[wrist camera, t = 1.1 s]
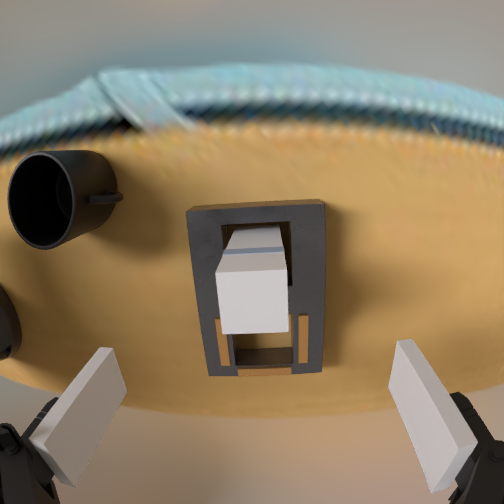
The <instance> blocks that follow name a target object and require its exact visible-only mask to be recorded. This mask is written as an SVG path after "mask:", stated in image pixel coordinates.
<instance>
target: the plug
mask: <svg viewBox="0 0 504 504" xmlns="http://www.w3.org/2000/svg"><path fill="white" fill-rule="evenodd" d="M215 275H216V284H217V293H218V302H219V310H220V318H221V327H222V334H251V333H276V332H289V330H288V287H287V267H286V261H285V251H284V246H283V244H282V239H281V233H280V228H279V225H261V226H243V227H236V228H235V230H234V232H233V234H232V236H231V239H230V241H229V243H228V245H227V248H226V249H225V250H224V252H223V254H222V259H221V261H220V263H219V265H218V268H217V270H216V272H215Z"/></svg>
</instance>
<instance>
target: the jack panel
mask: <svg viewBox="0 0 504 504" xmlns="http://www.w3.org/2000/svg"><path fill="white" fill-rule="evenodd" d="M186 218H187V227H188V236H189V245H190V253H191V261H192V269H193V276H194V284H195V291H196V298H197V305H198V312H199V319H200V325H201V332H202V338H203V344H204V350H205V356H206V362H207V368H208V373H209V376H269V375H290V374H302V373H316V372H322V356H323V335H324V307H325V204H324V203H323V202H322V201H320V200H319V199H307V200H284V201H265V202H247V203H232V204H217V205H204V206H194V207H192V208H191V209H189V210H188V211H186ZM280 221H288V225H289V251H290V274H287V287H288V313H291V340H292V347H284V348H262V349H238V344H237V335H236V334H222V327H221V318H220V310H219V302H218V293H217V284H216V275H215V272H216V270H217V268H218V265H219V263H220V261H221V259H222V254H223V252H224V250H225V249H226V248H227V245H228V241H227V229H226V224H243V223H261V222H280Z"/></svg>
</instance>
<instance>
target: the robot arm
mask: <svg viewBox="0 0 504 504" xmlns="http://www.w3.org/2000/svg"><path fill="white" fill-rule="evenodd" d="M20 344H21V329H20V324H19V321H18V317H17V315H16V312H15V310H14V308H13V305H12V303H11V302H10V300H9V298H8V296H7V295H6V293H5V292H4V291H3V289H2V288H1V287H0V361H1V360H4V359H7V358H9V357H10V356H12V355H13V354H14V353H15V352H16V351H17V350H18V349H19V347H20ZM388 388H389V390H390V393H391V395H392V397H393V399H394V402H395V404H396V406H397V409H398V411H399V413H400V416H401V418H402V420H403V423H404V425H405V427H406V430H407V432H408V435H409V437H410V439H411V442H412V444H413V447H414V449H415V452H416V454H417V457H418V459H419V462H420V464H421V467H422V470H423V472H424V475H425V478H426V480H427V483H428V486H429V488H430V491H431V493H434V492H437V491H441V490H444V489H446V488H449V487H450V485H451V484H452V483H453V481H454V480H456V482H457V485H458V487H457V488H456V490H455V491H454V492H453V494H452V495H451V496H450V498H449V499H448V500H451V501H450V503H449V504H504V442H503V441H498V440H494V438H493V437H492V435H491V433H490V432H489V430H488V429H487V427H486V426H485V424H484V422H483V421H482V419H481V418H480V416H479V415H478V413H477V412H476V410H475V409H473V406H472V404H471V403H470V401H469V400H468V398H467V397H465V396H464V395H462V394H461V393H460V392H455V393H452V394H449V393H448V392H447V390H446V389H445V387H444V385H443V384H442V382H441V381H440V379H439V378H438V376H437V375H436V373H435V372H434V370H433V369H432V367H431V366H430V364H429V363H428V361H427V360H426V358H425V357H424V355H423V354H422V352H421V351H420V349H419V348H418V347H417V345H416V344H415V342H414V341H413V339H406V340H399V341H397V344H396V350H395V356H394V361H393V366H392V371H391V376H390V380H389V385H388ZM127 392H128V391H127V388H126V386H125V383H124V380H123V377H122V374H121V371H120V368H119V365H118V362H117V359H116V356H115V352H114V349H113V348H106V347H100V348H99V349H98V350H97V351H96V353H95V354H94V355H93V356H92V358H91V359H90V360H89V361H88V362H87V364H86V365H85V366H84V367H83V369H82V370H81V371H80V372H79V374H78V375H77V376H76V377H75V379H74V380H73V381H72V382H71V384H70V385H69V386H68V387H67V389H66V390H65V391H64V393H63V394H62V395H61V397H60V398H57V397H55V398H54V399H52V400H51V401H49V402H48V403H47V404H46V405H45V406H44V408H43V409H42V410H41V412H40V413H39V414H38V415H37V418H35V419H34V420H33V422H32V423H31V424H30V426H29V427H28V428H27V430H26V431H25V432H24V433H23V435H22V436H21V437H20V436H19V434H18V433H17V431H16V429H15V428H14V427H13V426H12V425H11V424H8V423H2V424H0V504H60V501H59V498H58V495H57V491H56V488H55V485H54V482H53V481H52V477H53V476H54V474H55V476H56V477H57V478H58V479H59V481H60V482H61V483H64V484H67V485H70V486H72V487H76V486H77V484H78V482H79V480H80V478H81V476H82V474H83V472H84V470H85V468H86V467H87V465H88V463H89V461H90V459H91V457H92V455H93V453H94V452H95V450H96V448H97V446H98V444H99V442H100V440H101V439H102V437H103V435H104V433H105V431H106V429H107V427H108V426H109V424H110V422H111V420H112V419H113V417H114V415H115V413H116V411H117V410H118V408H119V406H120V404H121V402H122V401H123V399H124V397H125V395H126V394H127Z"/></svg>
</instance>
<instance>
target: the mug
mask: <svg viewBox="0 0 504 504" xmlns="http://www.w3.org/2000/svg"><path fill="white" fill-rule="evenodd" d="M122 199H123V194H122V193H121V192H118V191H117V183H116V178H115V175H114V172H113V170H112V168H111V166H110V165H109V163H108V162H107V161H106V160H105V159H104V158H103V157H102V156H101V155H99V154H97V153H95V152H93V151H88V150H64V151H39V152H34V153H32V154H29V155H28V156H26V157H25V158H24V159H22V160H21V161H20V162H19V164H18V165H17V166H16V168H15V170H14V172H13V174H12V176H11V179H10V183H9V187H8V209H9V215H10V218H11V221H12V223H13V226H14V228H15V230H16V231H17V233H18V234H19V236H20V237H21V238H22V239H23V240H24V241H25V242H26V243H27V244H29V245H30V246H32V247H34V248H37V249H41V250H48V249H53V248H55V247H57V246H59V245H61V244H63V243H65V242H67V241H70V240H72V239H74V238H76V237H78V236H80V235H82V234H84V233H86V232H88V231H91V230H93V229H95V228H97V227H99V226H100V225H102V224H103V223H104V222H105V221H106V220H107V219H108V218H109V216H110V215H111V213H112V211H113V208H114V206H115V203H116V202H119V201H121V200H122Z"/></svg>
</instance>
